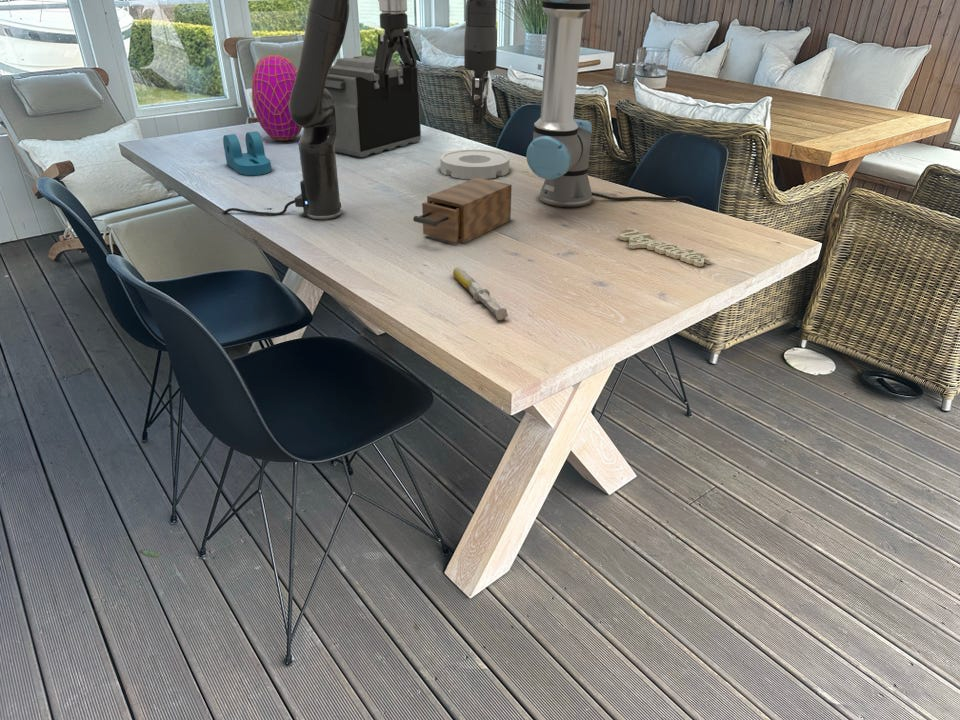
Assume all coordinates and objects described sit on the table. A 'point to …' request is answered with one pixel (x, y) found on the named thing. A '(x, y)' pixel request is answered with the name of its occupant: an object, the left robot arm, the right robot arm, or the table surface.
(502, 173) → the ashtray
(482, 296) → the syringe
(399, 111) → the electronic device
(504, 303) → the table surface
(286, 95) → the decorative egg
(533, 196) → the table surface
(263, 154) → the camera mount
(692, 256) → the decorative sign
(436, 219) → the drawer
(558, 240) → the table surface
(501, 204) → the cabinet
